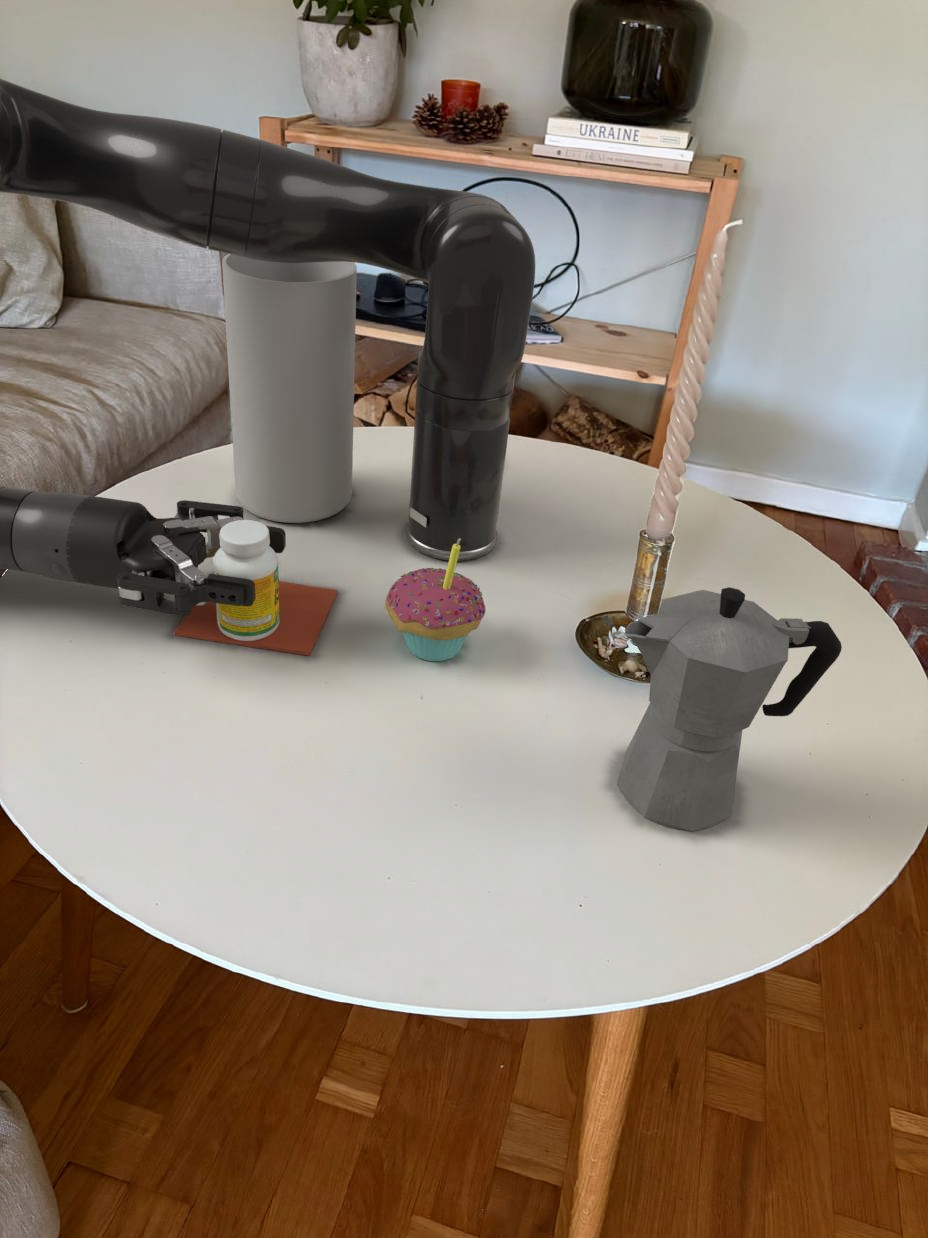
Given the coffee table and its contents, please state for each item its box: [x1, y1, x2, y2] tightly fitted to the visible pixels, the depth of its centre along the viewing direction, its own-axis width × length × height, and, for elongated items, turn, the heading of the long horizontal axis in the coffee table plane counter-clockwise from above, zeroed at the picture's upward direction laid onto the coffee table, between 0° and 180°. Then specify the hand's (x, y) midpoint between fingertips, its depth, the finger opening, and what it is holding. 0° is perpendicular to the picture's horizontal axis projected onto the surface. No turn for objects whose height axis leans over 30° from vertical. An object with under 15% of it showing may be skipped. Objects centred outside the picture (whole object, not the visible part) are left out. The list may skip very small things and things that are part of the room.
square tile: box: [174, 572, 338, 657], centre depth 87 cm, size 10×12×1 cm
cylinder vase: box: [221, 253, 358, 524], centre depth 98 cm, size 12×12×25 cm
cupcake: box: [384, 538, 487, 662], centre depth 82 cm, size 9×8×12 cm
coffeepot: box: [616, 586, 843, 832], centre depth 68 cm, size 15×9×18 cm, turn 95°
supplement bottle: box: [212, 519, 279, 641], centre depth 82 cm, size 5×5×10 cm
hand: (270, 566), depth 81 cm, fingers open, 8 cm apart
